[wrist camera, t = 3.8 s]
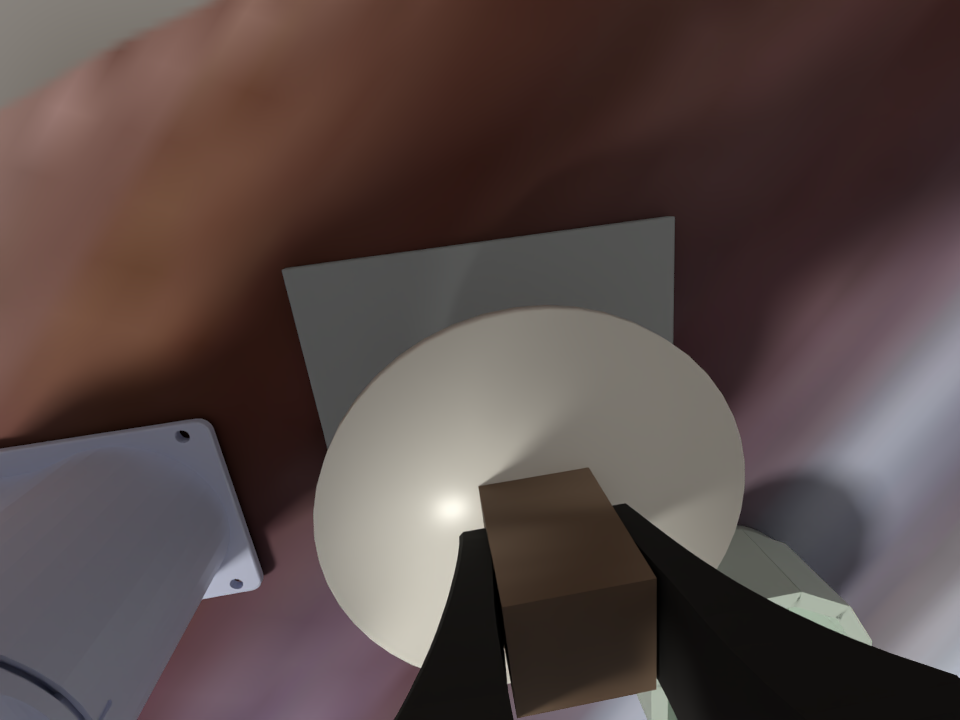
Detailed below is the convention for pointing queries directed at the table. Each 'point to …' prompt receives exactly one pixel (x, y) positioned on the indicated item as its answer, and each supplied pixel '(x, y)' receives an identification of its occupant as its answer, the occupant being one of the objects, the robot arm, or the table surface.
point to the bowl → (773, 595)
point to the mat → (469, 296)
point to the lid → (529, 492)
